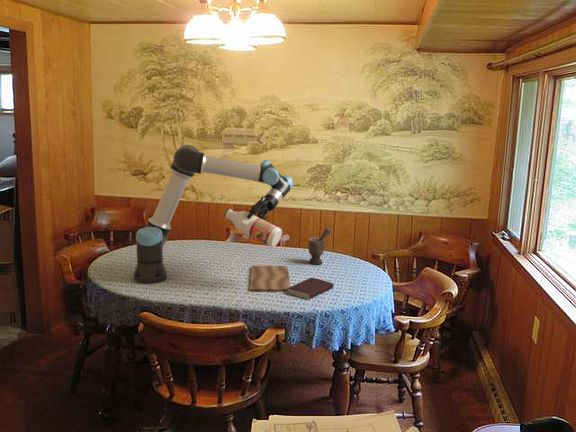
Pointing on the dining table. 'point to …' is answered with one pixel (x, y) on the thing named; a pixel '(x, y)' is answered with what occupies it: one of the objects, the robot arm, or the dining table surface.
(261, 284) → the walnut board
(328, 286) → the book
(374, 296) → the dining table surface
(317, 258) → the mortar and pestle
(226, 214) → the fruit juice
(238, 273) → the dining table surface
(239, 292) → the dining table surface
